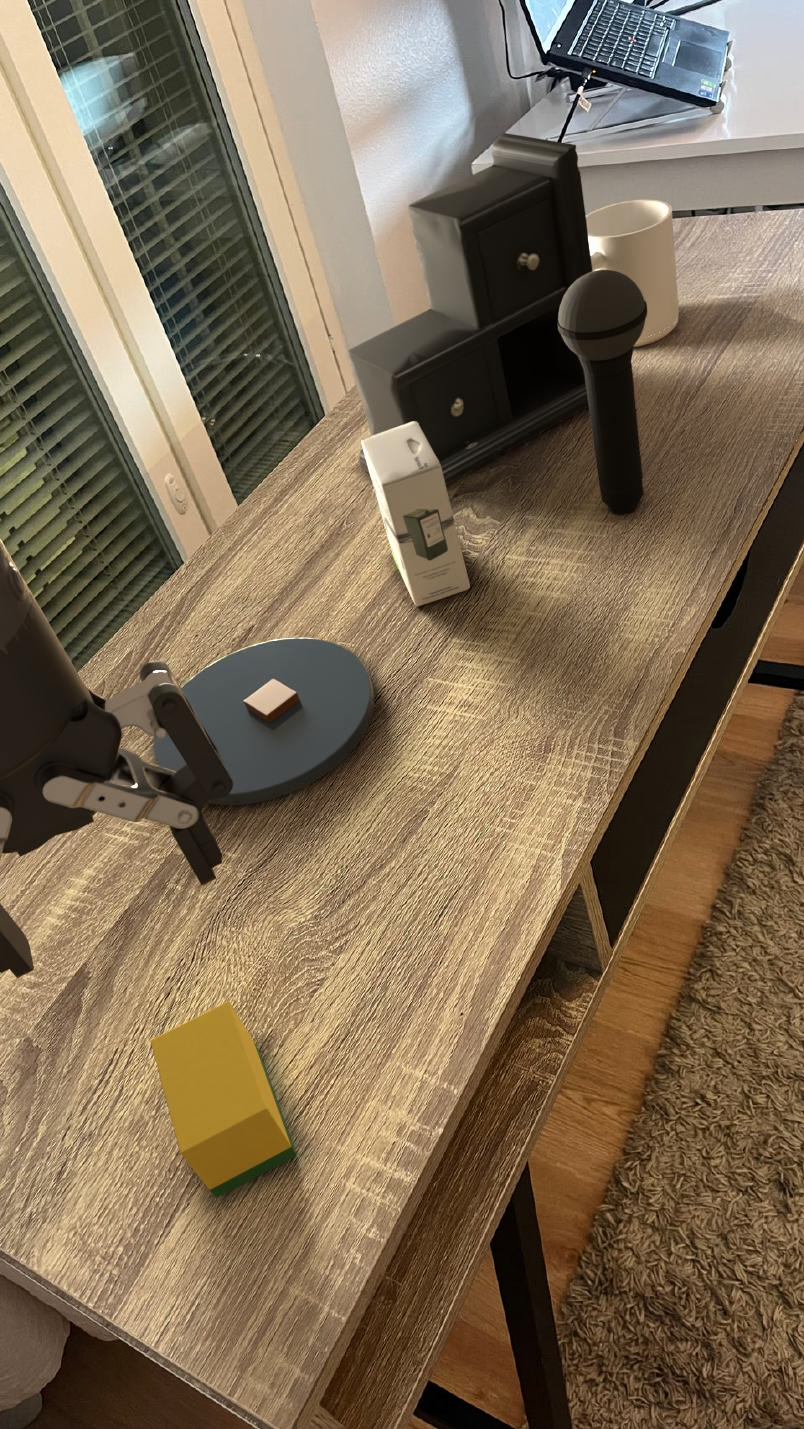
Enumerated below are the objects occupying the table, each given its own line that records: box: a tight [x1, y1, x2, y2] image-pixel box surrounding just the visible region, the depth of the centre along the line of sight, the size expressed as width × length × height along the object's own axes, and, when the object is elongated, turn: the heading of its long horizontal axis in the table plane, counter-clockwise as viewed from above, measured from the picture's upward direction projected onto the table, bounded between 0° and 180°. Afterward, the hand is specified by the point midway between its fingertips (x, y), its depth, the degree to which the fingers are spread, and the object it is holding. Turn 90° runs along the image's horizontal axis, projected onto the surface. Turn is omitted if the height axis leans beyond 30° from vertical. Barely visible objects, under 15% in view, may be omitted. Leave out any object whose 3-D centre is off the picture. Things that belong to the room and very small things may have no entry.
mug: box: [585, 198, 680, 348], centre depth 110 cm, size 10×12×12 cm
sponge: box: [150, 1000, 298, 1199], centre depth 55 cm, size 4×7×5 cm, turn 23°
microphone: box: [557, 270, 648, 516], centre depth 84 cm, size 7×7×20 cm
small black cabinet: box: [346, 132, 593, 486], centre depth 98 cm, size 23×11×24 cm, turn 122°
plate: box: [153, 637, 376, 806], centre depth 81 cm, size 17×17×1 cm
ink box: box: [360, 421, 471, 607], centre depth 87 cm, size 9×5×12 cm, turn 14°
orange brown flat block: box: [244, 679, 300, 723], centre depth 80 cm, size 3×3×1 cm
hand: (115, 914), depth 47 cm, fingers open, 8 cm apart
